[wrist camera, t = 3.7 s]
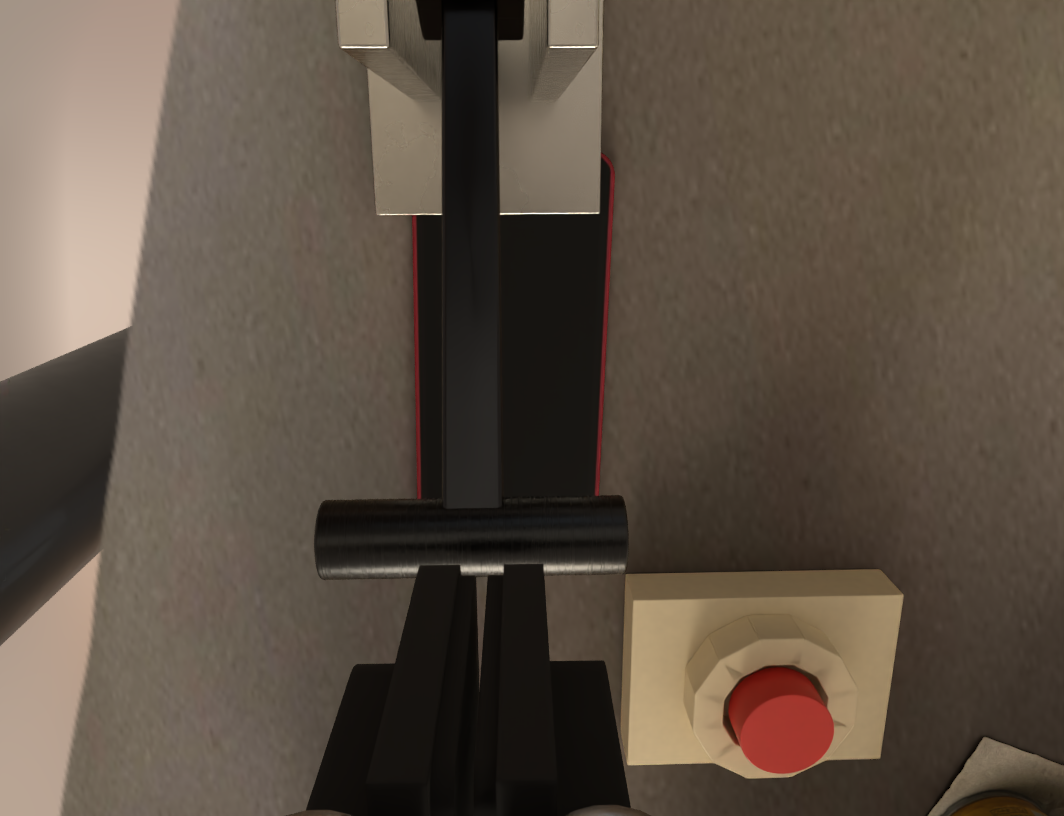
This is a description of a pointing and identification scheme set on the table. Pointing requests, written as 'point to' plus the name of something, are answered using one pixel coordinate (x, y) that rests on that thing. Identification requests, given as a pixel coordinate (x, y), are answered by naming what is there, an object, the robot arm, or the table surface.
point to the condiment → (1004, 785)
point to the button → (780, 720)
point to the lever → (471, 366)
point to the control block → (753, 657)
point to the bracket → (524, 106)
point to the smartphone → (529, 348)
